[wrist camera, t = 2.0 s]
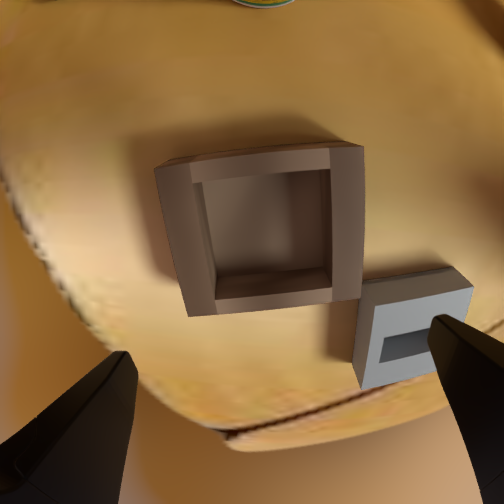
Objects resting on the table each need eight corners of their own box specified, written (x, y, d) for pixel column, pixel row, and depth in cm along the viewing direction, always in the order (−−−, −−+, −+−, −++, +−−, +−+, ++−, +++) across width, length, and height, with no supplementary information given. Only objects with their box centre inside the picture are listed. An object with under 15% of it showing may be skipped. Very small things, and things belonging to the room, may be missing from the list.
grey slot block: (453, 266, 20) (474, 286, 17) (433, 345, 23) (447, 367, 20) (360, 281, 20) (375, 306, 17) (351, 363, 23) (360, 389, 20)
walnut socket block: (345, 141, 16) (363, 146, 13) (346, 273, 20) (360, 298, 17) (169, 160, 16) (154, 168, 14) (195, 289, 20) (188, 316, 17)
